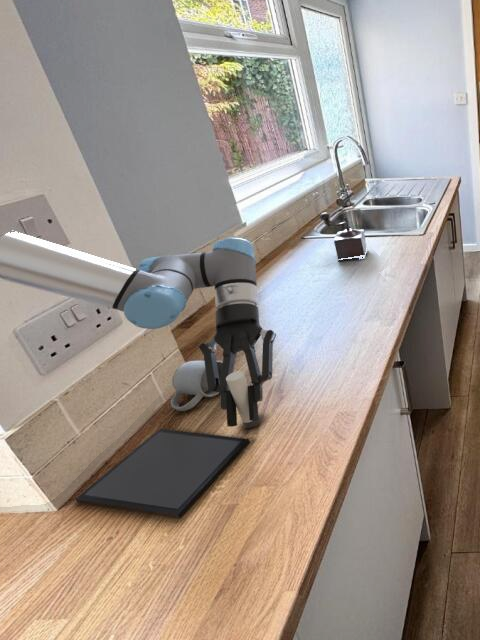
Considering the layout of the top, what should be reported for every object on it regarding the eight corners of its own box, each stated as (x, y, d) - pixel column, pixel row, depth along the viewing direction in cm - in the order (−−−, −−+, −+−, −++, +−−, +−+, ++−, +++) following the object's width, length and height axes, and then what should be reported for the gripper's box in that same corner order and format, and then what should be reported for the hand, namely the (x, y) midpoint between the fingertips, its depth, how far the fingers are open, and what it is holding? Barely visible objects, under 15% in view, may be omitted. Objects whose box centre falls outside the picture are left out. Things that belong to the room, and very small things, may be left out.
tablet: (77, 503, 68) (74, 498, 67) (161, 432, 81) (159, 428, 81) (180, 518, 64) (177, 514, 64) (249, 442, 78) (248, 438, 78)
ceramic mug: (203, 378, 96) (191, 352, 93) (234, 380, 95) (223, 354, 92) (162, 411, 86) (148, 384, 83) (196, 415, 85) (182, 386, 82)
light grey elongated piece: (240, 427, 81) (221, 380, 77) (251, 416, 84) (234, 370, 79) (253, 429, 81) (235, 381, 76) (264, 417, 84) (247, 371, 79)
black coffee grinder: (368, 249, 169) (360, 208, 162) (365, 259, 159) (357, 216, 152) (329, 253, 167) (319, 211, 159) (324, 264, 157) (313, 220, 149)
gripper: (183, 311, 80) (184, 435, 72) (274, 295, 85) (284, 409, 77) (200, 320, 86) (202, 435, 78) (284, 305, 91) (294, 411, 84)
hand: (243, 422), depth 78 cm, fingers closed on light grey elongated piece, 3 cm apart
